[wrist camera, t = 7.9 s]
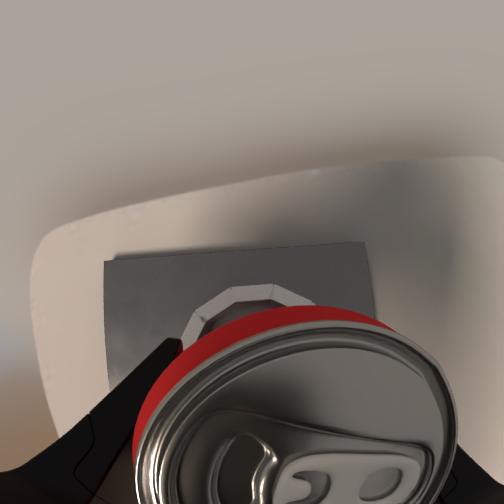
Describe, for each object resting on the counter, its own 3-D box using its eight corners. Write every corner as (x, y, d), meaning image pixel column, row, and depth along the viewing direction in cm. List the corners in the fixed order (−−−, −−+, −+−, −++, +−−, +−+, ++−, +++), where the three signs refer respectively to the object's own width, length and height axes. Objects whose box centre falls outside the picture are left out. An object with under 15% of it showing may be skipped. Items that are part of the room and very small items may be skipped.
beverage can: (205, 311, 15) (149, 257, 3) (305, 330, 15) (492, 322, 4) (186, 407, 14) (112, 570, 2) (285, 423, 14) (405, 572, 2)
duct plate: (372, 476, 16) (394, 498, 12) (136, 492, 16) (118, 517, 12) (359, 245, 21) (381, 227, 17) (109, 263, 20) (83, 250, 16)
